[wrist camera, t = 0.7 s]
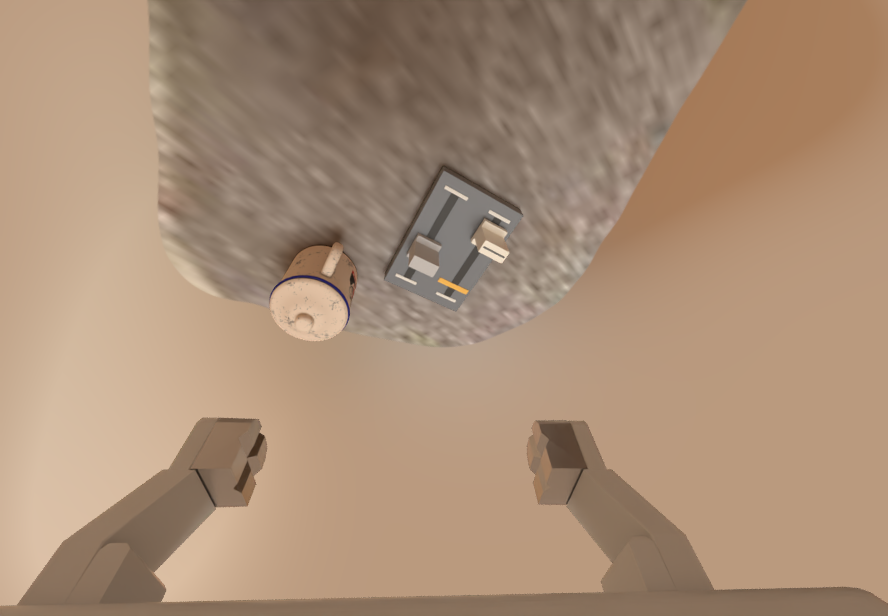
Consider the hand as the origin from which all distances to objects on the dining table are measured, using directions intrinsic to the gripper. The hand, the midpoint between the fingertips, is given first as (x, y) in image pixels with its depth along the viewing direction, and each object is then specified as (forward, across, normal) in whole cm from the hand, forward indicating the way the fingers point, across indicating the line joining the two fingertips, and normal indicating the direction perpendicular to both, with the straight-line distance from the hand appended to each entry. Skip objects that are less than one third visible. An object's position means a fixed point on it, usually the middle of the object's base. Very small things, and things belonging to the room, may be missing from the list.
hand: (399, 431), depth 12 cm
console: (+38, -4, +12) cm, 40 cm away
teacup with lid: (+39, +12, +16) cm, 43 cm away
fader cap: (+36, -9, +9) cm, 38 cm away
